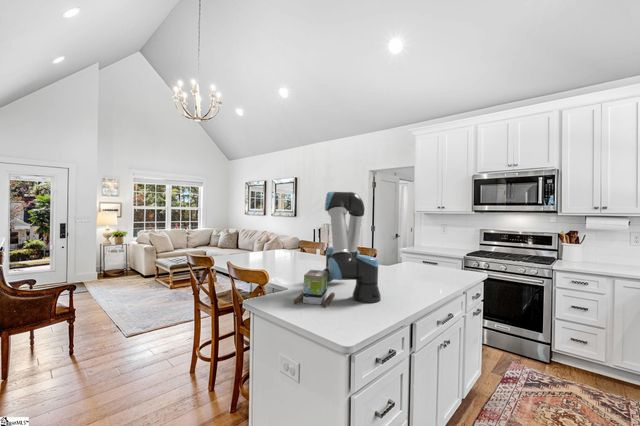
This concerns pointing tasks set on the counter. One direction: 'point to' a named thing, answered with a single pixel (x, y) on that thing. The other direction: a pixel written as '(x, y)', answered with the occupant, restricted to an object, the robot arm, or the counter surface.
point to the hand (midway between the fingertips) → (319, 282)
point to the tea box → (315, 287)
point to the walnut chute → (323, 302)
